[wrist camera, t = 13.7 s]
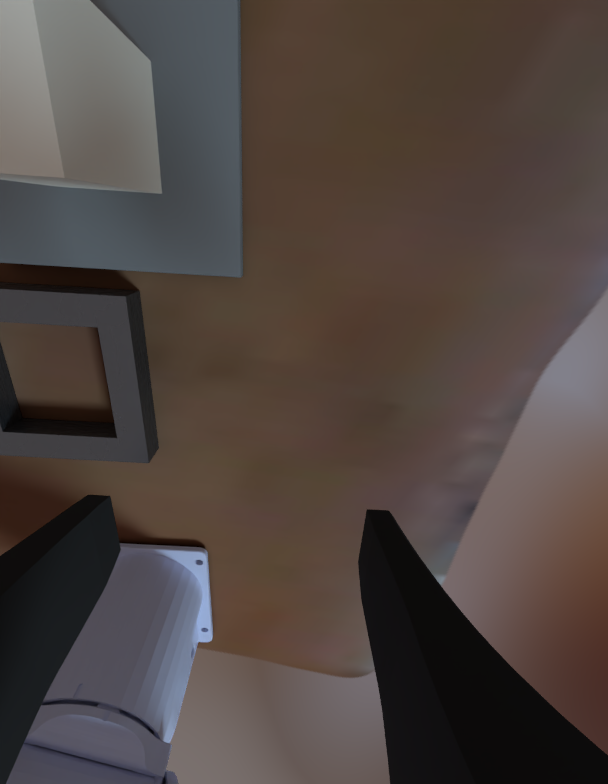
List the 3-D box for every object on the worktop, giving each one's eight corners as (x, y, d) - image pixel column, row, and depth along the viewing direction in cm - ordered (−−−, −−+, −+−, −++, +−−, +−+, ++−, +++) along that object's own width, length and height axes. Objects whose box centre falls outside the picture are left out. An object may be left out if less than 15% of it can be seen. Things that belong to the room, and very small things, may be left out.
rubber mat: (242, 275, 18) (240, 277, 17) (8, 261, 18) (-2, 262, 17) (239, -50, 13) (236, -62, 13) (-79, -73, 13) (-96, -86, 12)
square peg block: (161, 193, 16) (64, 177, 10) (57, 186, 16) (-113, 165, 9) (150, 60, 14) (19, -70, 8) (31, 51, 14) (-200, -87, 8)
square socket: (158, 447, 22) (148, 463, 21) (2, 439, 22) (-18, 454, 20) (139, 290, 18) (125, 296, 17) (-50, 279, 18) (-79, 284, 17)
